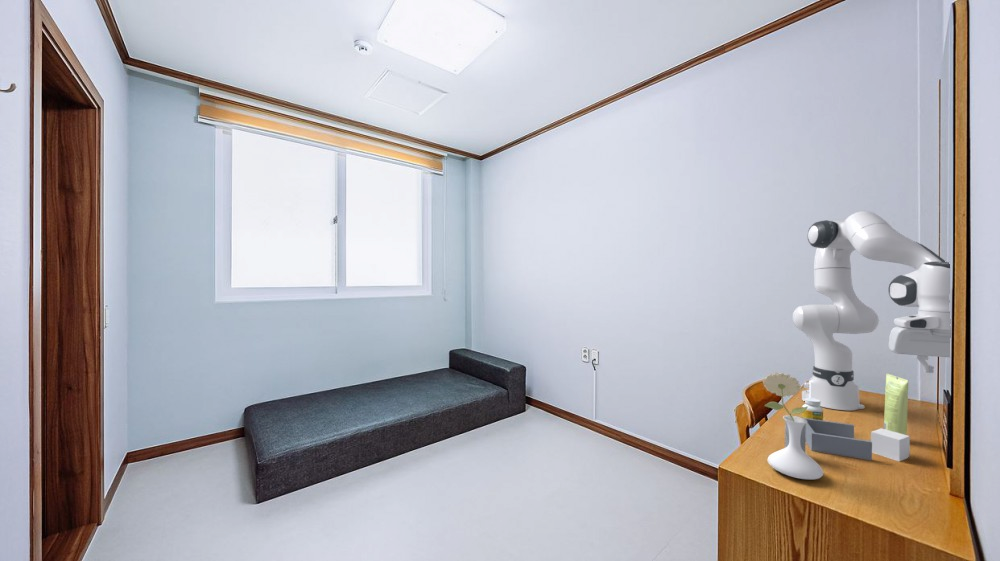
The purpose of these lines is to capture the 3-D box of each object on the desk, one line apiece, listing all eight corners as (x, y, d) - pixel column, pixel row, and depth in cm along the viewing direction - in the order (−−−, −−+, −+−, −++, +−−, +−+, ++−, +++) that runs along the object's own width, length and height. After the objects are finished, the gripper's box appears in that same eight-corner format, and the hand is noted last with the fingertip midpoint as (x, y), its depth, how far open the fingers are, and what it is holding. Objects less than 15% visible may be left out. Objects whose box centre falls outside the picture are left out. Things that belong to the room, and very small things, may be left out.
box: (799, 432, 123) (799, 417, 122) (852, 440, 117) (852, 424, 117) (811, 450, 110) (811, 433, 110) (871, 460, 104) (871, 442, 104)
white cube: (909, 457, 106) (909, 436, 106) (899, 461, 104) (899, 440, 104) (880, 448, 112) (881, 428, 112) (870, 452, 109) (870, 431, 109)
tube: (911, 441, 116) (912, 377, 116) (907, 445, 114) (908, 379, 113) (885, 434, 121) (886, 373, 121) (881, 438, 118) (881, 375, 118)
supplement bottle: (811, 425, 129) (812, 396, 129) (827, 431, 124) (827, 401, 123) (797, 425, 128) (798, 397, 128) (812, 432, 123) (813, 402, 123)
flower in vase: (830, 475, 96) (831, 376, 96) (814, 490, 90) (816, 384, 90) (770, 455, 107) (771, 366, 107) (752, 467, 100) (753, 372, 100)
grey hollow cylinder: (786, 450, 110) (786, 414, 110) (806, 455, 107) (806, 419, 107) (783, 455, 107) (783, 419, 107) (803, 461, 104) (804, 423, 104)
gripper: (991, 322, 101) (990, 375, 101) (886, 318, 110) (885, 366, 110) (1008, 325, 95) (1007, 381, 95) (896, 321, 104) (895, 371, 105)
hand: (941, 373), depth 103 cm, fingers open, 4 cm apart
